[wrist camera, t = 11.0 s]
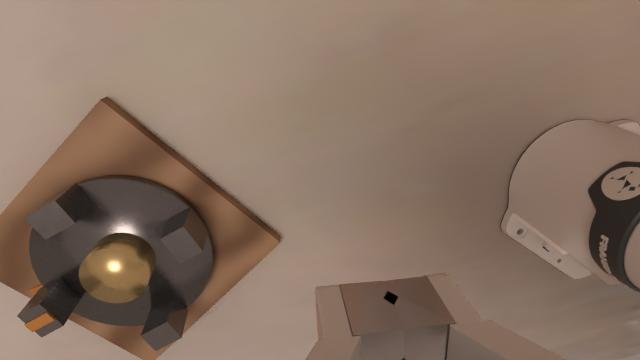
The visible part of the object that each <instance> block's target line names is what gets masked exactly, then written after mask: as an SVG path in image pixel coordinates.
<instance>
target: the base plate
mask: <svg viewBox="0 0 640 360" xmlns="http://www.w3.org/2000/svg"><path fill="white" fill-rule="evenodd" d="M112 175H121V176H133V177H139V178H143V179H147V180H150V181H154V182H156V183H159V184H161V185H164V186H166V187H167V188H169V189H171V190H173V191H175V192H176V193H178V194H179V195H181V196H182V197H183V198H185V199H186V200H187V201H188V202H189V203H190V204H191V205H192V206H193V207H194V208H195V209H196V210H197V211H198V212H199V214H200V215H201V217H202V218H203V220H204V221H205V223H206V225H207V227H208V229H209V231H210V235H211V238H212V243H213V263H212V269H211V274H210V277H209V280H208V282H207V284H206V286H205V288H204V290H203V291H202V293H201V294H200V296H199V297H198V298H197V299H196V300H195V301H194V302H193V303H192V304H191V305H190V306H189V307H187V309H188V314H187V318H186V322H185V326H184V330H183V333H184V332H185V331H186V330H187V329H188V328H189V327H190V326H192V325H193V324H194V323H195V322H196V321H197V320H198V319H199V318H200V317H201V316H202V315H203V314H204V313H205V312H206V311H208V310H209V309H210V308H211V307H212V306H213V305H214V304H215V303H216V302H217V301H218V300H219V299H220V298H221V297H222V296H223V295H225V294H226V293H227V292H228V291H229V290H230V289H231V288H232V287H233V286H234V285H235V284H236V283H237V282H238V281H239V280H241V279H242V278H243V277H244V276H245V275H246V274H247V273H248V272H249V271H250V270H251V269H252V268H253V267H254V266H255V265H256V264H258V263H259V262H260V261H261V260H262V259H263V258H264V257H265V256H266V255H267V254H268V253H269V252H270V251H271V250H272V249H274V248H275V247H276V246H277V245H278V244H279V243H280V235H278V234H277V233H276V232H275V231H273V230H272V229H271V228H270V227H268V226H267V225H266V224H265V223H263V222H262V221H261V220H260V219H258V218H257V217H256V216H255V215H254V214H252V213H251V212H250V211H249V210H247V209H246V208H245V207H244V206H242V205H241V204H240V203H239V202H237V201H236V200H235V199H234V198H232V197H231V196H230V195H229V194H227V193H226V192H225V191H224V190H222V189H221V188H220V187H219V186H217V185H216V184H215V183H214V182H212V181H211V180H210V179H209V178H207V177H206V176H205V175H204V174H202V173H201V172H200V171H199V170H197V169H196V168H195V167H194V166H192V165H191V164H190V163H189V162H187V161H186V160H185V159H184V158H182V157H181V156H180V155H179V154H177V153H176V152H175V151H174V150H172V149H171V148H170V147H169V146H167V145H166V144H165V143H164V142H162V141H161V140H160V139H159V138H157V137H156V136H155V135H154V134H152V133H151V132H150V131H149V130H147V129H146V128H145V127H144V126H142V125H141V124H140V123H139V122H137V121H136V120H135V119H134V118H132V117H131V116H130V115H129V114H127V113H126V112H125V111H124V110H122V109H121V108H120V107H119V106H117V105H116V104H115V103H114V102H112V101H111V100H110V99H109V98H107V97H105V98H103V99H101V100H100V101H99V102H98V103H97V104H96V105H95V107H94V108H93V109H92V110H91V111H90V112H89V113H88V115H87V116H86V117H85V118H84V119H83V120H82V122H81V123H80V124H79V125H78V126H77V127H76V128H75V130H74V131H73V132H72V133H71V134H70V135H69V137H68V138H67V139H66V140H65V141H64V142H63V143H62V145H61V146H60V147H59V148H58V149H57V150H56V152H55V153H54V154H53V155H52V156H51V157H50V158H49V160H48V161H47V162H46V163H45V164H44V165H43V167H42V168H41V169H40V170H39V171H38V172H37V173H36V175H35V176H34V177H33V178H32V179H31V180H30V182H29V183H28V184H27V185H26V186H25V187H24V188H23V190H22V191H21V192H20V193H19V194H18V195H17V197H16V198H15V199H14V200H13V201H12V202H11V203H10V205H9V206H8V207H7V208H6V209H5V210H4V212H3V213H2V214H1V215H0V282H2V283H3V284H5V285H7V286H9V287H11V288H13V289H14V290H16V291H18V292H20V293H22V294H24V295H25V296H27V297H29V298H31V299H32V298H33V296H34V295H35V294H36V293H37V291H38V290H39V289H40V288H42V287H43V286H42V284H41V283H40V281H39V280H38V278H37V276H36V274H35V272H34V270H33V267H32V264H31V260H30V254H29V240H30V234H31V230H32V226H31V225H30V224H29V223H28V222H27V221H26V220H25V219H24V218H25V217H26V216H27V215H28V214H30V213H31V212H32V211H33V210H34V209H36V208H37V207H38V206H39V205H40V204H42V203H43V202H44V201H45V200H47V199H48V198H49V197H51V196H53V195H55V194H56V193H58V192H60V191H62V190H64V189H65V188H67V187H69V186H71V185H73V184H74V183H79V182H82V181H85V180H88V179H91V178H96V177H101V176H112ZM68 319H69V320H71V321H73V322H75V323H77V324H79V325H81V326H82V327H84V328H86V329H88V330H90V331H92V332H93V333H95V334H97V335H99V336H101V337H103V338H104V339H106V340H108V341H110V342H112V343H114V344H115V345H117V346H119V347H121V348H123V349H125V350H126V351H128V352H130V353H132V354H134V355H136V356H137V357H139V358H141V359H143V360H155V359H156V358H157V357H159V356H160V355H161V354H162V353H163V352H164V351H165V350H166V349H167V348H168V347H169V346H170V345H171V344H172V343H171V344H169V345H167V346H165V347H163V348H161V349H159V350H157V351H155V350H154V349H153V348H152V347H151V346H150V345H149V344H148V343H147V342H146V341H145V340H144V339H143V338H142V337H141V336H140V335H141V333H142V330H143V328H144V325H141V326H116V325H109V324H103V323H99V322H96V321H92V320H90V319H87V318H84V317H82V316H80V315H78V314H76V313H74V312H72V313H71V315H70V316H69V318H68Z"/></svg>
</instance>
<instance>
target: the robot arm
mask: <svg viewBox="0 0 640 360" xmlns="http://www.w3.org/2000/svg"><path fill="white" fill-rule="evenodd" d="M501 229H502V231H503V232H504V233H505V234H507V235H508V236H510V237H511V238H513V239H514V240H516V241H517V242H519V243H520V244H522V245H523V246H524V247H526V248H527V249H529V250H530V251H532V252H533V253H535V254H536V255H538V256H539V257H541V258H542V259H544V260H545V261H547V262H548V263H550V264H551V265H553V266H554V267H556V268H557V269H558V270H560V271H561V272H563V273H564V274H566V275H568V276H569V277H571V278H572V279H581V278H584V277H588V276H590V275H593V274H594V275H595V276H597V277H598V278H599V279H601V280H602V281H603V282H605V283H606V284H608V285H619V284H622V285H624V286H626V287H629V288H631V289H633V290H635V291H638V292H640V126H639V124H638V123H636V122H634V121H631V120H627V119H626V120H619V121H614V122H610V123H603V122H598V121H594V120H574V121H569V122H566V123H563V124H560V125H558V126H556V127H554V128H552V129H550V130H549V131H547V132H546V133H544V134H543V135H541V136H540V137H539V138H538V139H537V140H535V141H534V142H533V143H532V144H531V145H530V146H529V148H528V149H527V150H526V151H525V152H524V154H523V155H522V157H521V158H520V160H519V161H518V163H517V165H516V167H515V169H514V172H513V174H512V178H511V181H510V187H509V204H508V209H507V211H506V213H505V215H504V218H503V220H502V223H501ZM519 229H520V230H519ZM518 230H519V231H518ZM517 231H518V232H517ZM315 294H316V312H317V330H318V341H317V342H316V344H315V346H314V347H313V349H312V350H311V352H310V354H309V355H308V357H307V358H306V360H566V359H564V358H562V357H560V356H559V355H557V354H555V353H553V352H551V351H549V350H547V349H545V348H543V347H541V346H539V345H537V344H535V343H533V342H531V341H529V340H527V339H526V338H524V337H522V336H520V335H518V334H516V333H514V332H512V331H510V330H508V329H506V328H504V327H502V326H500V325H498V324H496V323H495V322H493V321H491V320H486V321H483V320H482V319H481V317H480V316H479V315H478V313H477V312H476V311H475V309H474V308H473V307H472V305H471V304H470V302H469V301H468V300H467V298H466V297H465V296H464V294H463V293H462V292H461V290H460V289H459V288H458V286H457V285H456V284H455V282H454V281H453V279H452V278H451V277H450V275H449V274H447V273H439V274H432V275H424V276H423V277H414V278H405V279H396V280H387V281H373V282H361V283H350V284H339V285H329V286H319V287H316V291H315Z"/></svg>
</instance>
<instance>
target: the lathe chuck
mask: <svg viewBox="0 0 640 360" xmlns="http://www.w3.org/2000/svg"><path fill="white" fill-rule="evenodd" d="M24 219H25V220H26V221H27V222H28V223H29V224H30V225H31V226H32V230H31V234H30V240H29V254H30V260H31V264H32V267H33V270H34V272H35V274H36V276H37V278H38V280H39V281H40V283H41V284H42V286H43V287H42V288H40V289H39V290H38V291H37V293H36V294H35V295H34V296H33V298H32V299H31V300H30V301H29V302H28V304H27V305H26V306H25V307H24V308H23V310H22V311H21V312H20V313H19V314H18V317H19V318H20V319H21V320H22V321H23V322H24V323H25V326H26V327H27V328H28V329H30V330H31V331H32V332H33V331H35V332H36V333H37V334H38V335H39V336H41V337H43V336H45V335H47V334H49V333H51V332H53V331H54V330H56V329H58V328H60V327H62V326H64V324H65V322H66V321H67V319H68V318H69V316H70V315H71V313H72V312H74V313H76V314H78V315H80V316H82V317H84V318H87V319H90V320H92V321H96V322H99V323H103V324H109V325H116V326H141V325H144V328H143V330H142V333H141V335H140V336H141V337H142V338H143V339H144V340H145V341H146V342H147V343H148V344H149V345H150V346H151V347H152V348H153V349H154V350H155V351H157V350H159V349H161V348H163V347H165V346H167V345H169V344H171V343H173V342H175V341H176V340H178V339H180V338H182V334H183V330H184V326H185V322H186V318H187V314H188V309H187V307H189V306H190V305H191V304H192V303H193V302H194V301H195V300H196V299H197V298H198V297H199V296H200V294H201V293H202V291H203V290H204V288H205V286H206V284H207V282H208V280H209V277H210V274H211V269H212V263H213V243H212V238H211V235H210V231H209V229H208V227H207V225H206V223H205V221H204V220H203V218H202V217H201V215H200V214H199V212H198V211H197V210H196V209H195V208H194V207H193V206H192V205H191V204H190V203H189V202H188V201H187V200H186V199H185V198H183V197H182V196H181V195H179V194H178V193H176V192H175V191H173V190H171V189H169V188H167V187H166V186H164V185H161V184H159V183H156V182H154V181H150V180H147V179H143V178H139V177H133V176H121V175H112V176H101V177H96V178H91V179H88V180H85V181H82V182H79V183H74V184H73V185H71V186H69V187H67V188H65V189H64V190H62V191H60V192H58V193H56V194H55V195H53V196H51V197H49V198H48V199H47V200H45V201H44V202H43V203H42V204H40V205H39V206H38V207H37V208H36V209H34V210H33V211H32V212H31V213H30V214H28V215H27V216H26V217H25V218H24Z"/></svg>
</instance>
